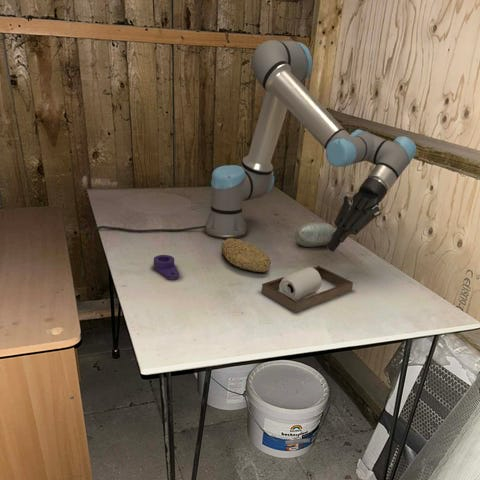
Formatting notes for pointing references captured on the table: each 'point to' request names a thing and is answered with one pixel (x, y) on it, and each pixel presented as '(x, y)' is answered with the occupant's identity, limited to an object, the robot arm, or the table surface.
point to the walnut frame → (296, 306)
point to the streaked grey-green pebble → (314, 234)
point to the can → (300, 283)
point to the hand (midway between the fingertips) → (330, 248)
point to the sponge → (245, 255)
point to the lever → (166, 267)
